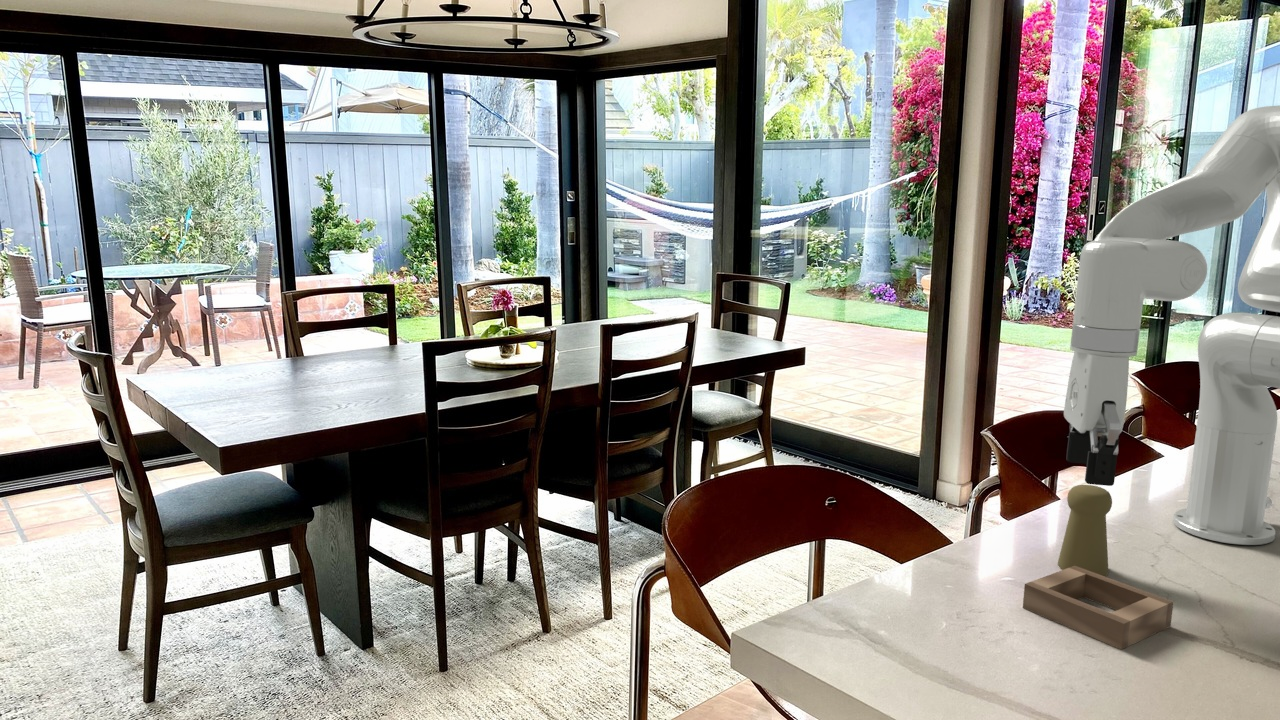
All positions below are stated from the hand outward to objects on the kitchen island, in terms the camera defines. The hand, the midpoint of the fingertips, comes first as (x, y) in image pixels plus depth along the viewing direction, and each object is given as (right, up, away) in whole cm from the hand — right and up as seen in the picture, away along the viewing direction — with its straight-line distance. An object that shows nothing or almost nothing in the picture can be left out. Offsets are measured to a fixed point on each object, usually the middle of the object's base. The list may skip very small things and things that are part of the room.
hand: (1088, 473), depth 120 cm
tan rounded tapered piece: (+1, -13, +3) cm, 13 cm away
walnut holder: (-5, -15, -11) cm, 19 cm away
